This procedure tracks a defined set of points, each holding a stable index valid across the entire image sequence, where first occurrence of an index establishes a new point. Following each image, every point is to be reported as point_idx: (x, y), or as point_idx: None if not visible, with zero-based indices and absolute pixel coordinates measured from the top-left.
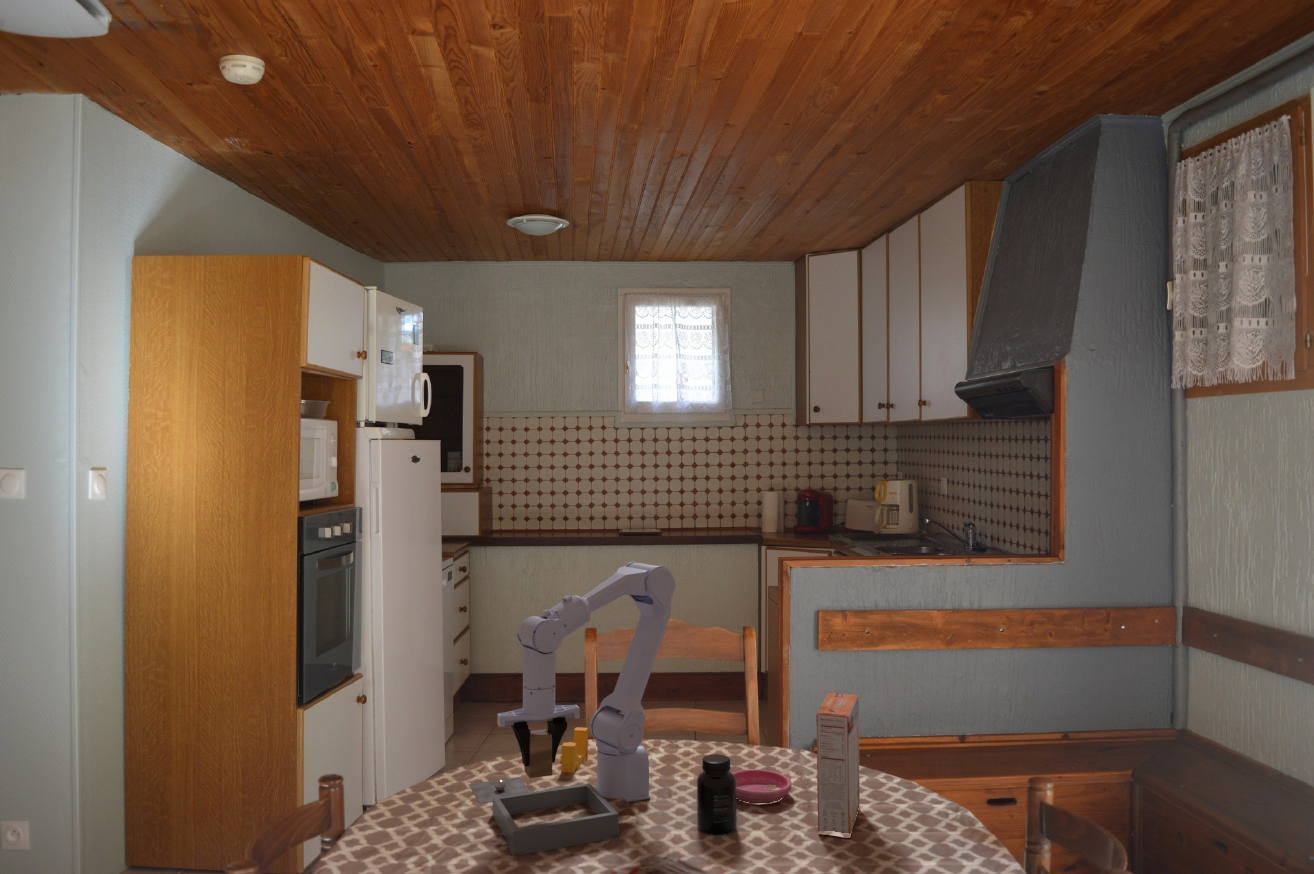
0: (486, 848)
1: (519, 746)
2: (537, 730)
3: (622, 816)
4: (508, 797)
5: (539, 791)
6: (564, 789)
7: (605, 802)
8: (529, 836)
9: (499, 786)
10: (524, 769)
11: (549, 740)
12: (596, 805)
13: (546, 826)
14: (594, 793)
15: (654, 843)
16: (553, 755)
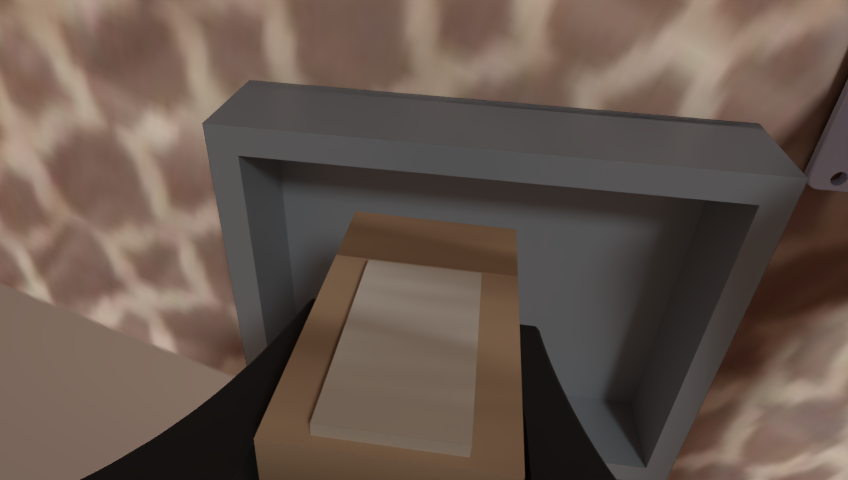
0: (208, 289)
1: (242, 372)
2: (413, 465)
3: (790, 293)
4: (286, 159)
5: (471, 160)
6: (617, 191)
7: (691, 400)
8: None
9: None
10: (352, 219)
11: None
12: (689, 312)
13: None
14: (719, 309)
15: (715, 475)
16: None
